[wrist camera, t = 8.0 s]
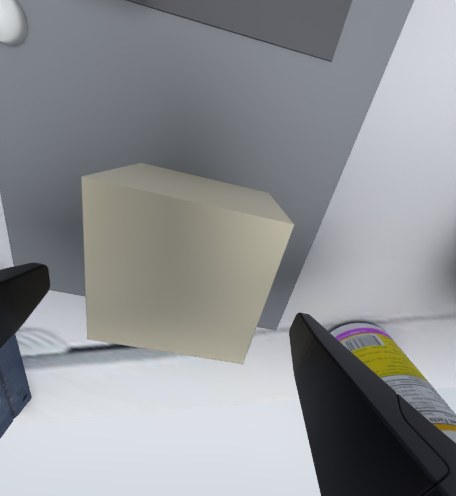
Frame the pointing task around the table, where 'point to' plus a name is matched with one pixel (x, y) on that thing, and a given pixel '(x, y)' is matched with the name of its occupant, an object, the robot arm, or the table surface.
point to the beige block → (178, 260)
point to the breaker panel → (182, 108)
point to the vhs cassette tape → (12, 384)
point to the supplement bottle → (397, 372)
